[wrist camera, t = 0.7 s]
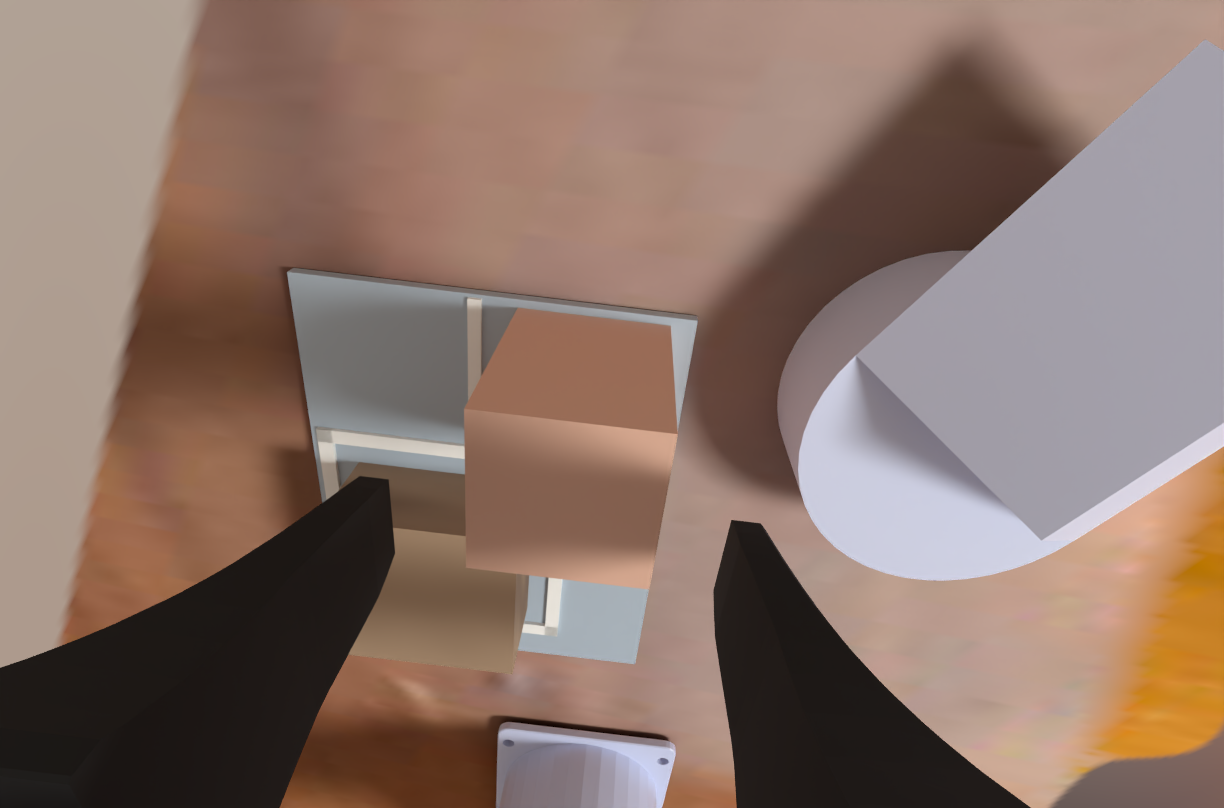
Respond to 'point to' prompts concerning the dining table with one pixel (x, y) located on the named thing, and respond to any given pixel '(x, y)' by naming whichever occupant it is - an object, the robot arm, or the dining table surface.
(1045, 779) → the dining table surface
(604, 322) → the column block
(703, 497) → the dining table surface
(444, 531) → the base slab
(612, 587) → the board
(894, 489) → the wedge on round base
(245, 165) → the dining table surface
